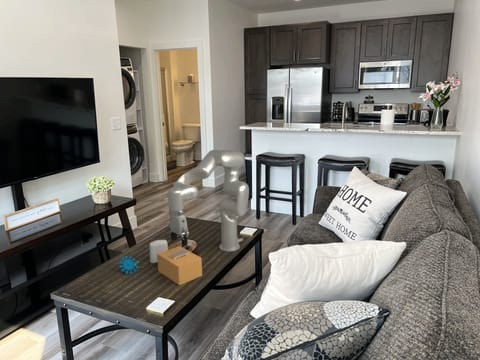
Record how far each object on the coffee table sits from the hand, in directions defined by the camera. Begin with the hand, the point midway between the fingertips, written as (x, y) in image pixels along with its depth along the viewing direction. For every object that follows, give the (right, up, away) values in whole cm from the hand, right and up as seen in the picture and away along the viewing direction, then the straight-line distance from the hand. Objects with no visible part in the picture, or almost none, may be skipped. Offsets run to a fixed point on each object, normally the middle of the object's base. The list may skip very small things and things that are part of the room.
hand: (179, 242), depth 184 cm
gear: (-28, -16, +7) cm, 33 cm away
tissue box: (0, -17, +3) cm, 17 cm away
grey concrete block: (0, -15, +3) cm, 15 cm away
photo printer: (-14, -13, +18) cm, 26 cm away
